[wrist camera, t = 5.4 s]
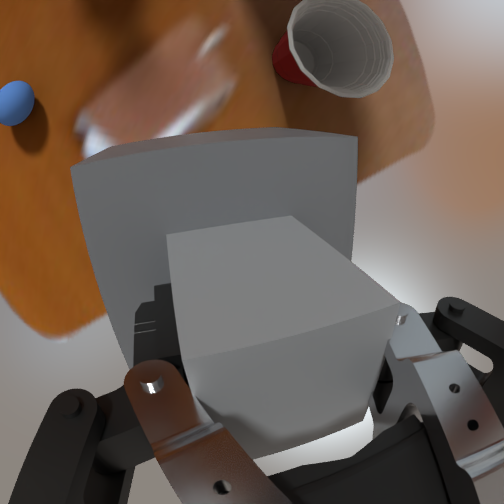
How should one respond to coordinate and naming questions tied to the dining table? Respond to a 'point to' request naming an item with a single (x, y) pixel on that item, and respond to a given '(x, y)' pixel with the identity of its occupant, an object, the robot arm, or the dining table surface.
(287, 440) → the grey stepped block
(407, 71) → the dining table surface
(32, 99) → the ball
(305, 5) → the plastic cup
